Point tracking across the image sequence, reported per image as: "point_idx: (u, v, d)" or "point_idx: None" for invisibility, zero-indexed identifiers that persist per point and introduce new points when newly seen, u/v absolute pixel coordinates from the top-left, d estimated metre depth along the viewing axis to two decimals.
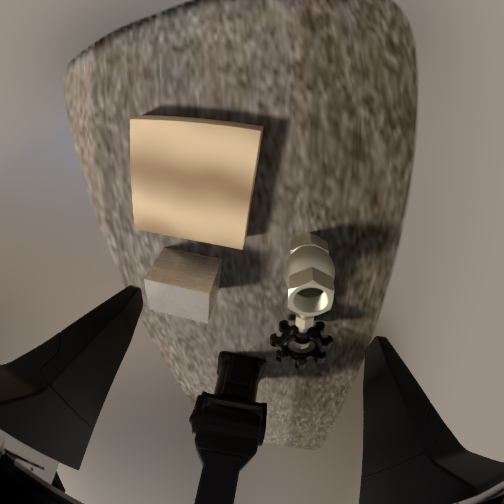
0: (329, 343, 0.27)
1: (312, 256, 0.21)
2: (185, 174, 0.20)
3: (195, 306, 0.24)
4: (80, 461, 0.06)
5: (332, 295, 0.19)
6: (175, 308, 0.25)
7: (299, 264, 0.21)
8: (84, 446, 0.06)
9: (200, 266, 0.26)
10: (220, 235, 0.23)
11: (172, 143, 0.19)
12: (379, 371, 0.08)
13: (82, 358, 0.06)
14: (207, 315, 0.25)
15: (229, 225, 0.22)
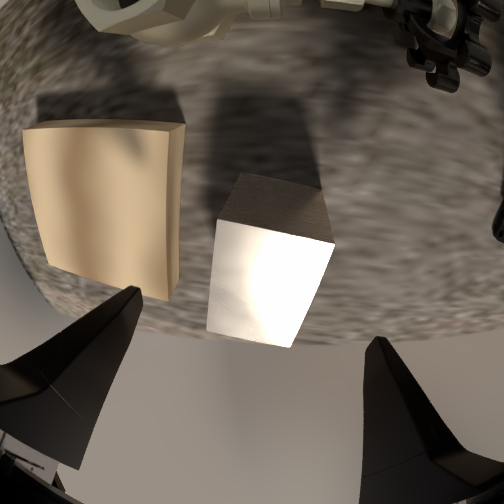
0: None
1: None
2: (75, 214, 0.13)
3: (269, 261, 0.10)
4: (80, 461, 0.06)
5: None
6: (282, 303, 0.11)
7: None
8: (84, 446, 0.06)
9: None
10: (146, 172, 0.11)
11: (53, 226, 0.14)
12: (379, 371, 0.08)
13: (82, 358, 0.06)
14: (302, 239, 0.09)
15: (126, 156, 0.11)
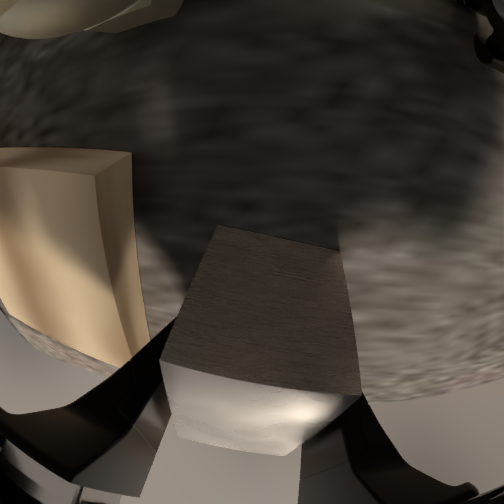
0: None
1: None
2: (17, 271, 0.09)
3: (252, 407, 0.05)
4: (142, 488, 0.06)
5: None
6: (273, 434, 0.07)
7: None
8: (147, 472, 0.06)
9: None
10: (77, 233, 0.07)
11: (1, 278, 0.10)
12: None
13: (160, 388, 0.06)
14: (308, 392, 0.05)
15: (49, 210, 0.07)
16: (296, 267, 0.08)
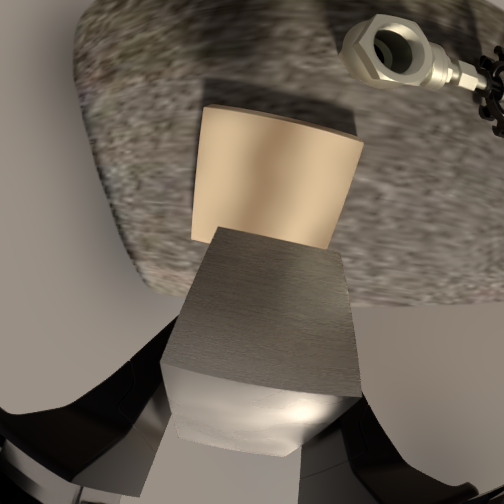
0: (503, 51, 0.07)
1: (346, 47, 0.10)
2: (254, 192, 0.18)
3: (252, 409, 0.05)
4: (141, 488, 0.06)
5: (385, 16, 0.07)
6: (274, 435, 0.07)
7: (356, 64, 0.11)
8: (147, 473, 0.06)
9: None
10: (340, 166, 0.16)
11: (218, 201, 0.19)
12: None
13: (160, 388, 0.06)
14: (308, 394, 0.05)
15: (326, 152, 0.16)
16: (296, 268, 0.08)
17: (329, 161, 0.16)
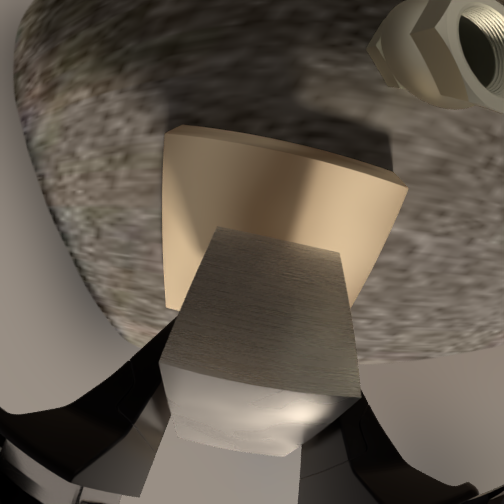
0: None
1: (392, 35, 0.05)
2: None
3: (252, 409, 0.05)
4: (141, 488, 0.06)
5: None
6: (273, 436, 0.07)
7: (413, 66, 0.05)
8: (147, 473, 0.06)
9: None
10: (371, 222, 0.11)
11: (196, 266, 0.14)
12: None
13: (160, 388, 0.06)
14: (307, 394, 0.05)
15: (353, 203, 0.11)
16: (296, 269, 0.08)
17: (357, 215, 0.11)
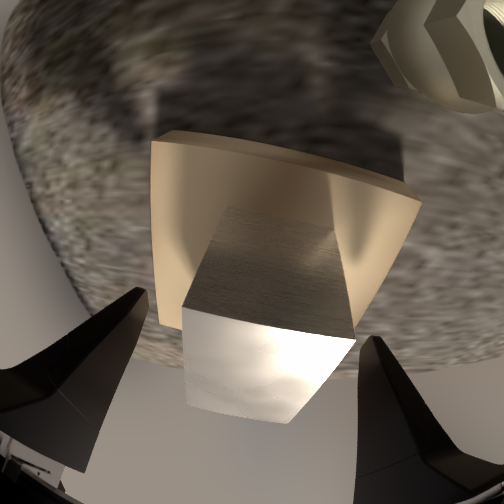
0: None
1: (401, 27, 0.04)
2: None
3: (260, 356, 0.07)
4: (86, 464, 0.06)
5: None
6: (278, 392, 0.08)
7: (426, 63, 0.04)
8: (90, 449, 0.06)
9: None
10: (381, 239, 0.10)
11: (190, 284, 0.12)
12: (373, 371, 0.08)
13: (89, 361, 0.06)
14: (308, 335, 0.06)
15: (362, 218, 0.09)
16: (296, 239, 0.09)
17: (365, 231, 0.10)
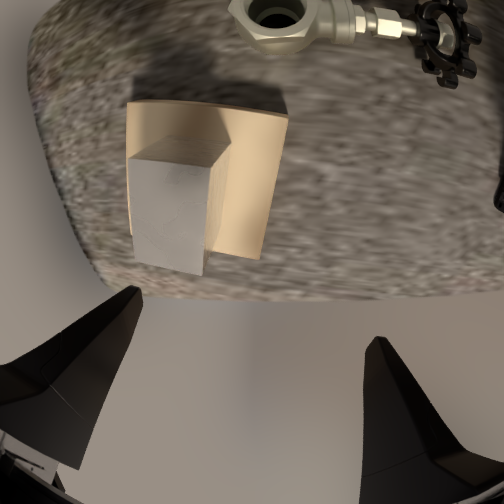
0: None
1: (235, 20, 0.10)
2: None
3: (166, 188, 0.12)
4: (80, 461, 0.06)
5: None
6: (183, 227, 0.13)
7: (244, 34, 0.10)
8: (84, 446, 0.06)
9: None
10: (265, 147, 0.15)
11: None
12: (379, 371, 0.08)
13: (82, 358, 0.06)
14: (185, 166, 0.11)
15: (247, 133, 0.15)
16: (201, 144, 0.14)
17: (252, 142, 0.15)
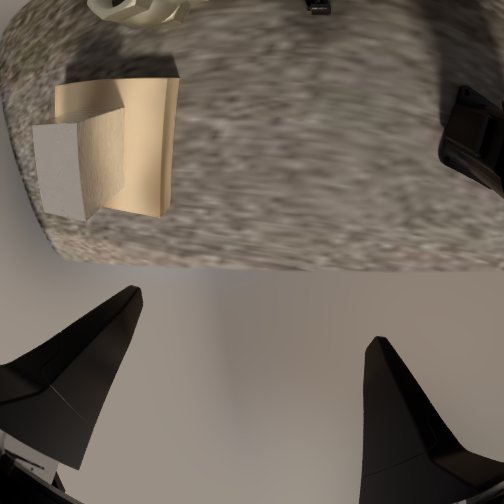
0: None
1: None
2: None
3: (53, 145, 0.12)
4: (80, 461, 0.06)
5: None
6: (67, 176, 0.13)
7: None
8: (84, 446, 0.06)
9: None
10: (150, 107, 0.15)
11: None
12: (379, 371, 0.08)
13: (82, 358, 0.06)
14: (62, 125, 0.11)
15: (136, 98, 0.14)
16: (96, 110, 0.14)
17: (140, 105, 0.15)
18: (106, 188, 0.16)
